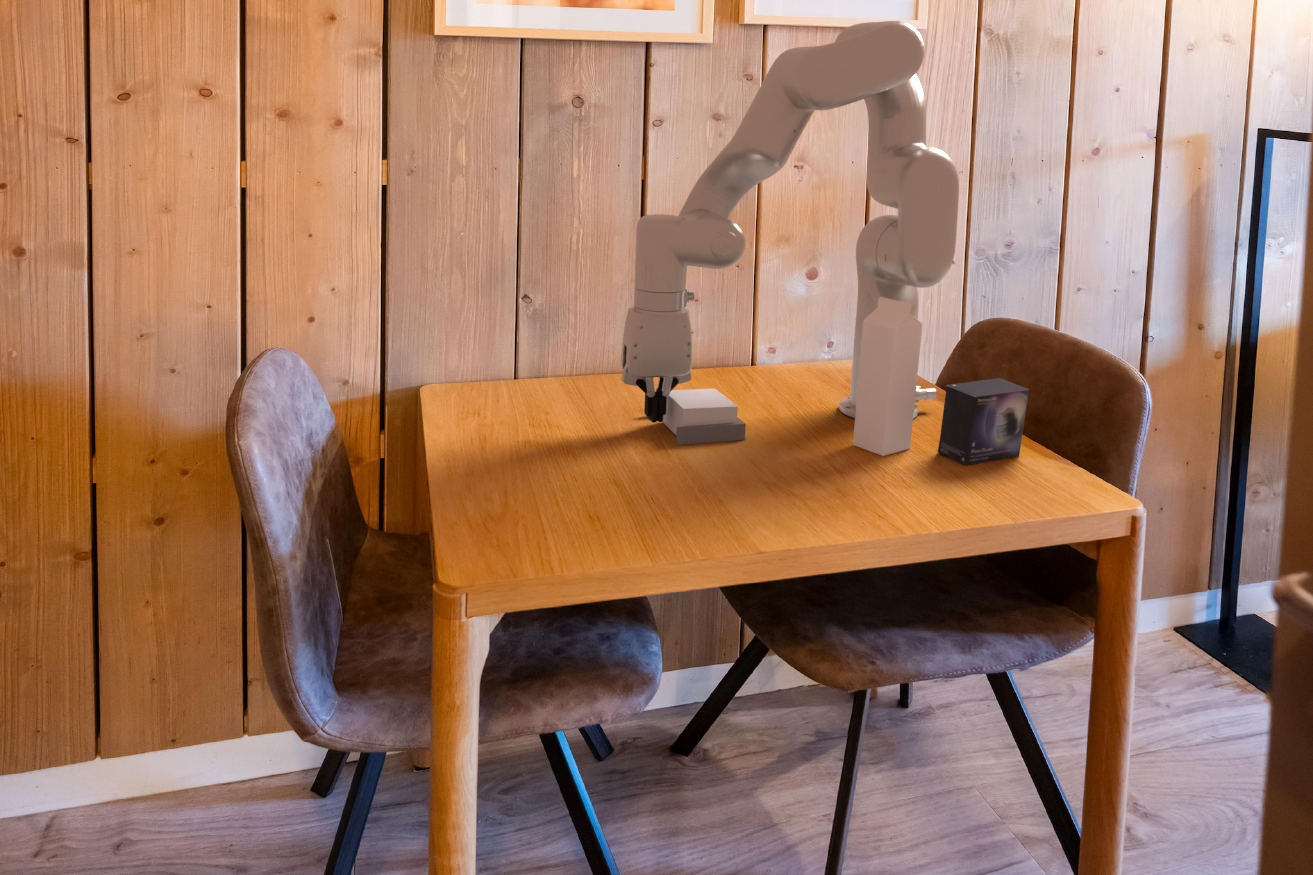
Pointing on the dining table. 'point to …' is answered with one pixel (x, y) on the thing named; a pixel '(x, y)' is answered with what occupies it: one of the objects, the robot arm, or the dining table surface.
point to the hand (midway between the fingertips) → (654, 419)
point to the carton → (698, 408)
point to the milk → (887, 378)
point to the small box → (983, 421)
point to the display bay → (711, 433)
